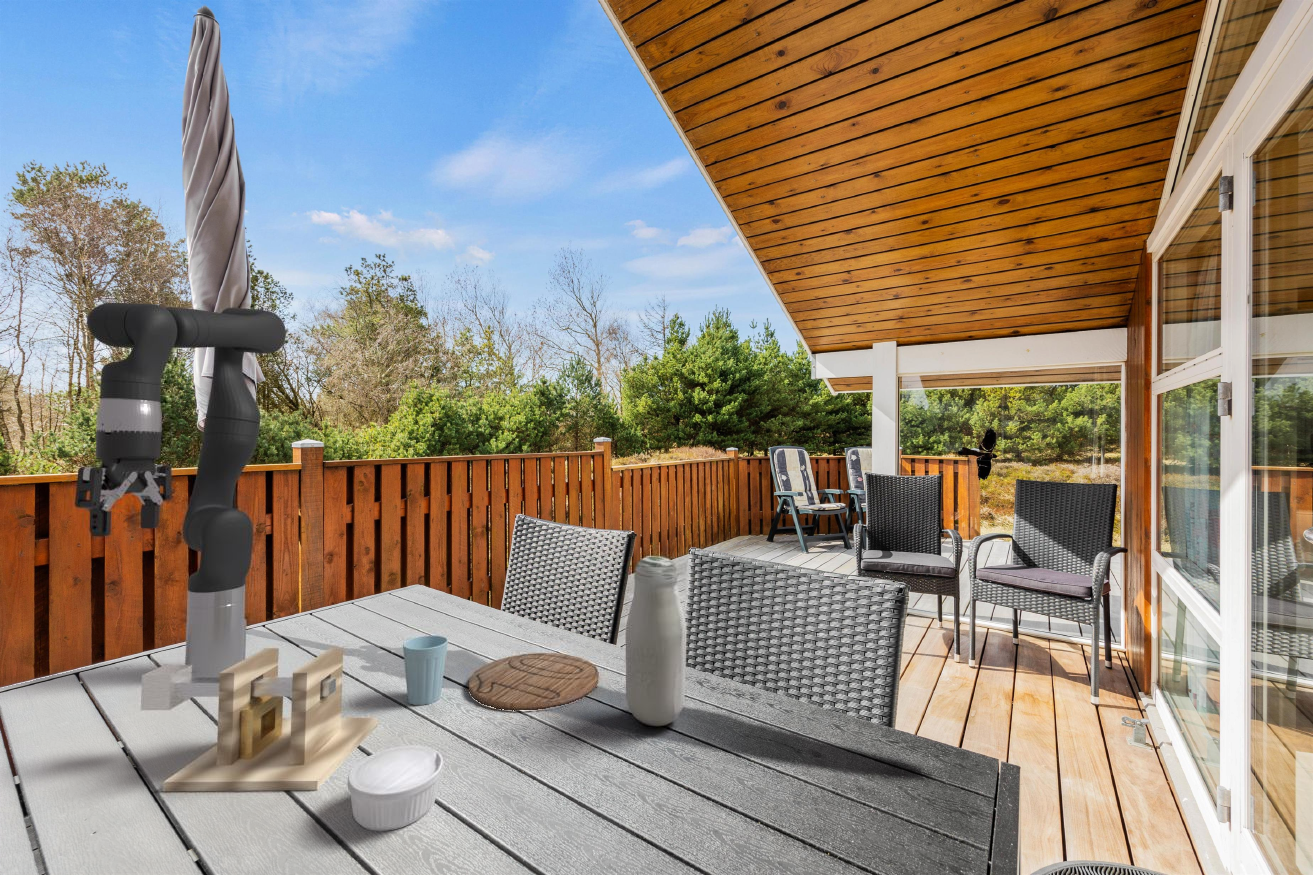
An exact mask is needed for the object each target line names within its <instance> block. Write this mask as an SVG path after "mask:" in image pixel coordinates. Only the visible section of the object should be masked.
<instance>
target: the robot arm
mask: <svg viewBox="0 0 1313 875" xmlns="http://www.w3.org/2000/svg"><path fill="white" fill-rule="evenodd" d="M86 325H87V328H88V331H89V332H90V334H91V336H92V337H94V339H96V340H97V341H99V343H102V344H103V345H106V346H108V347H113V348H120V349H121V348H124V349H128V348H129V349H131V351H130V353H129V355H128V356H127V357H126V358H124V359H121V360H117V361H112V362H111V361H110V362H108V363H105V365H103V367H102V369H101V373H100V374H101V376H100V391H99V392H100V393H99V394H100V395H99V398H100V399H99V404H98V405H99V406H98V409H97V413H96V414H97V415H96V432H95V434H96V435H95V436H96V437H95V438H96V439H95V457H96V458H97V459H99V460H101V463H100V466H99V467H98V466H97V467H96V466H81V467H79V468H78V471H77V478H76V489H75V490H76V491H75V500H74V507H75V508H77V509H85V510H86V511H89V533H90V535H91V536H92V537H99V538H100V537H109V536H110V535H111V530H112V529H111V528H112V511H110V510H111V508H112V507H113V505H114V504H115V503H116V501H117V500H119V499H121V498H123V496H124V495H128V494H132V495H134V496H136V497H137V498H138V500H139V501H140V502H141V504H142V505H141V506H140V508H141V509H140V528H141V529H156V528H158V526H159V522H160V510H161V509H160V507H161V506H162V504H163V502H165V501H171V499H172V496H173V494H172V493H173V488H172V486H173V485H172V484H173V482H172V466H171V465H170V464H155V460H158V459H160V457H161V456H162V454H161V452H162V450H161V448H162V428H163V427H162V425H163V415H162V414H163V413H162V406H161V394H162V378H163V374H164V372H165V369H166V366H167V364H168V361H169V358H170V356H171V353H172V352H173V349H174V348H175V349H195V348H196V349H197V348H199V349H200V348H201V349H202V348H206V349H207V348H214V352H213V369H212V370H213V371H212V379H211V384H210V393H209V399H208V405H207V409H206V414H205V419H204V424H203V431H202V438H201V448H200V452H199V457H198V462H197V468H196V469H197V470H196V477H195V481H194V485H193V490H192V494H191V496H190V500H189V503H188V505H187V510H186V513H185V516H184V519H183V524H182V539H183V541H184V543H185V544H186V546H187V547H189V548H190V549H191V550H193V551H196V552H200V560H199V561H200V562H199V568H198V569H197V571H195V572H194V573H192V574H191V575H190V576H189V577H188V580H187V597H186V598H187V601H186V602H187V603H186V605H187V607H186V627H185V628H186V632H185V657H184V658H185V659H184V660H185V661H184V665H192V678H194V677H220V672H222V671H224V670H226V669H228V668H230V667H232V666H234V665H235V664H237V663H239V662H241V661H243V660H245V659H246V645H247V644H246V643H247V642H246V641H247V639H246V638H247V619H246V618H245V610H246V609H245V606H246V602H245V601H246V580H247V579H246V578H247V577H248V576H247V575H248V573H249V572H250V569H251V565H252V555H253V544H254V526H253V522H252V519H251V518H250V516H249V515H248V513H246V512H244V511H242V510H240V509H237V508H233V500H234V495H235V494H234V493H235V488H236V485H237V483H238V480H239V478H240V476H241V474H242V473H243V470H244V469H245V468H246V466H247V464H248V463H249V461H250V459H251V458H252V457H253V454H254V452H255V449H256V447H257V444H258V441H259V440H258V438H259V434H260V428H261V418H262V417H261V416H262V415H261V410H260V408H259V405H258V404H257V402H256V400H255V398H254V396H253V394H252V392H251V390H250V389H249V387H248V385H247V382H246V380H245V376H244V372H243V368H244V366H243V363H244V362H243V360H244V354H245V353H251V354H262V355H263V354H265V355H266V354H273V353H276V352H278V351H279V350H281V349H282V347H283V346H284V344H285V343H286V337H287V334H286V333H287V332H286V326H285V323H284V321H283V320H282V318H281V317H280V316H279V315H277V313H275V312H272V311H269V310H265V309H264V310H263V309H256V308H253V309H252V308H245V307H227V308H224V309H222V311H221V312H218V311H217V312H216V311H211V310H203V309H196V308H187V307H176V306H175V307H174V306H166V307H164V306H162V305H160V304H154V303H137V302H136V303H133V302H105V303H101V304H99V305H97V306H96V307H94V308H93V309H92V310H91V311H90V312H89V313H88V316H87V320H86ZM161 487H162V492H161ZM88 492H89V499H87V497H88Z"/></svg>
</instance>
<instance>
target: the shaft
mask: <svg viewBox="0 0 1313 875" xmlns="http://www.w3.org/2000/svg"><path fill="white" fill-rule="evenodd" d="M292 678H293V676H290V677H288V676H287V677H280V676H278V677H257V678H255V679H254V680H252V681H251V694H250V697H274V696H283V697H292ZM219 679H220V677H194V678H192V665H185V664H163V665H161V666H159V667H157V668H155V669H153V670H150V671H148V672H146V673H144V674H142V675H141V691H140V692H141V694H140V698H141V699H140V711H170V710H172V709H173V708H176V707H177V706H179V705H181V704H183V703H184V702H187V701H188V700H190V699H191V698H192V697H193V698H194V697H195V698H196V697H197V698H200V697H208V698H211V697H213V698H214V697H217V698H219ZM335 691H336V677H326V678H324V679H323V680H321V685H320V696H330V695H331V694H332V693H333V692H335Z"/></svg>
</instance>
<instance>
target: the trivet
mask: <svg viewBox="0 0 1313 875" xmlns="http://www.w3.org/2000/svg"><path fill="white" fill-rule="evenodd" d="M599 677H600V672H599V670H598V668H597V666H596V665H595V664H593V663H592V662H591V661H590V660H587V659H585V658H582V657H578V656H575V655H571V654H565V653H564V654H563V653H558V652H557V653H556V652H555V653H554V652H535V653H533V652H532V653H523V654H518V655H517V654H516V655H511V656H507V657H503V658H499V659H496V660H493V661H491V662H489V663H486V664H483V665H482V666H481V667H479V668H478V669H476V670H475V671H474V672H473V673H472V674H471V676H469V682H468V693H469V692H470V694H471V696H472V697H473V698H474V699H475V700H477V701H478V702H480V703H481V704H484V705H487V706H491V707H494V708H496V709H501V710H500V711H502V709H504V710H512V711H513V710H514V711H515V710H538V709H546V708H550V707H556V706H561V705H565V704H569V703H571V702H574V701H576V700H579V699H582V698H583V697H585V696H586V695H588V694H589V693H591V692H592V691H593V690H594V689H595V688H596V686H597V684H599V681H598V679H600V678H599ZM597 687H598V686H597ZM596 689H597V688H596ZM596 689H595V690H596ZM595 690H594V691H595ZM594 691H593V692H594ZM470 694H469V695H470ZM471 696H470V697H471ZM472 697H471V698H472Z"/></svg>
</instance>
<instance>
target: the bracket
mask: <svg viewBox="0 0 1313 875" xmlns="http://www.w3.org/2000/svg"><path fill="white" fill-rule="evenodd" d="M279 650H280V648H279V647H278V648H277V647H276V648H275V647H273V648H271V647H266V648H264V649H262V650H260V651H258V652H257V653H254V654H253V655H250V656H248V657H247V658H245V660H243V661H241V662H239V663H237V664H235V665H234V666H232V667H230V668H228V669H226V670H224V671H222V672H220V679H219V697H218V709H217V710H218V712H217V714H218V715H217V717H218V718H217V738H216V739H217V742H216V744H215V745H214V746H212V747H210V749H208V750H207V751H206V752H204V753H202V754H201V755H199V756H198V757H196V759H194V760H192V762H189V763H188V764H187V765H185V766H184V767H183V768H182V769H180V770H178V771H177V772H175V773H174V774H173V775H171V776H170V777H168V778H167V779H165V781H163V783H162V792H225V791H226V792H228V791H229V792H231V791H232V792H235V791H236V792H238V791H239V792H242V791H244V792H245V791H247V792H249V791H250V792H251V791H255V792H256V791H318V790H319V788H321V787H322V785H323V784H324V783H326V781H327V780H328V779H329V778H330V777H331V776H332V775H333V774H334V773H335V772H336V770H338V769H339V767H340V766H341V765H342V764H344V762H345V761H346V760H347V759H348V758H349V757H350V756H351V754H352V753H354V752H355V750H356V749H357V748H358V747H359V746H360V745H361V744H362V743H363V742H364V740H365V739H367V737H368V736H369V735H370V734H371V733H372V732H373V731H374V730H375V729H376V728H377V727H378V725H379V717H342V706H343V705H342V703H343V674H344V672H343V671H344V670H343V669H344V647H343V648H341V647H337V648H336V647H330V648H328V649H327V650H326V651H324V652H322V653H321V654H319V655H318V656H316V657H315V658H313V659H312V660H310V661H309V662H307V663H306V664H304V665H303V666H301V667H299V668H297V670H295V671H293V672H292V677H293V678H292V696H291V710H290V711H291V713H290V714H291V716H290V717H284V718H283V717H282V735H281V736H280V737H279V738H277V739H276V740H275V741H274V742H272V743H271V744H270V745H269V746H267V747H266V748H265V749H264V750H263V751H261V752H260V753H259V754H258V755H256V756H255V757H254V758H253V759H240V748H241V718H242V709H244V708H245V707H247V706H248V705H250V704H251V703H253V702H254V701H256V700H257V699H259V698H260V697H250V694H251V681H252V680H254V679H255V678H257V677H279ZM326 677H336V691H335V692H333V693H332V694H331V695H330V696H320V685H321V680H323V679H324V678H326ZM264 718H265V714H264V715H263V716H261V731H262V730H263V729H264Z"/></svg>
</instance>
